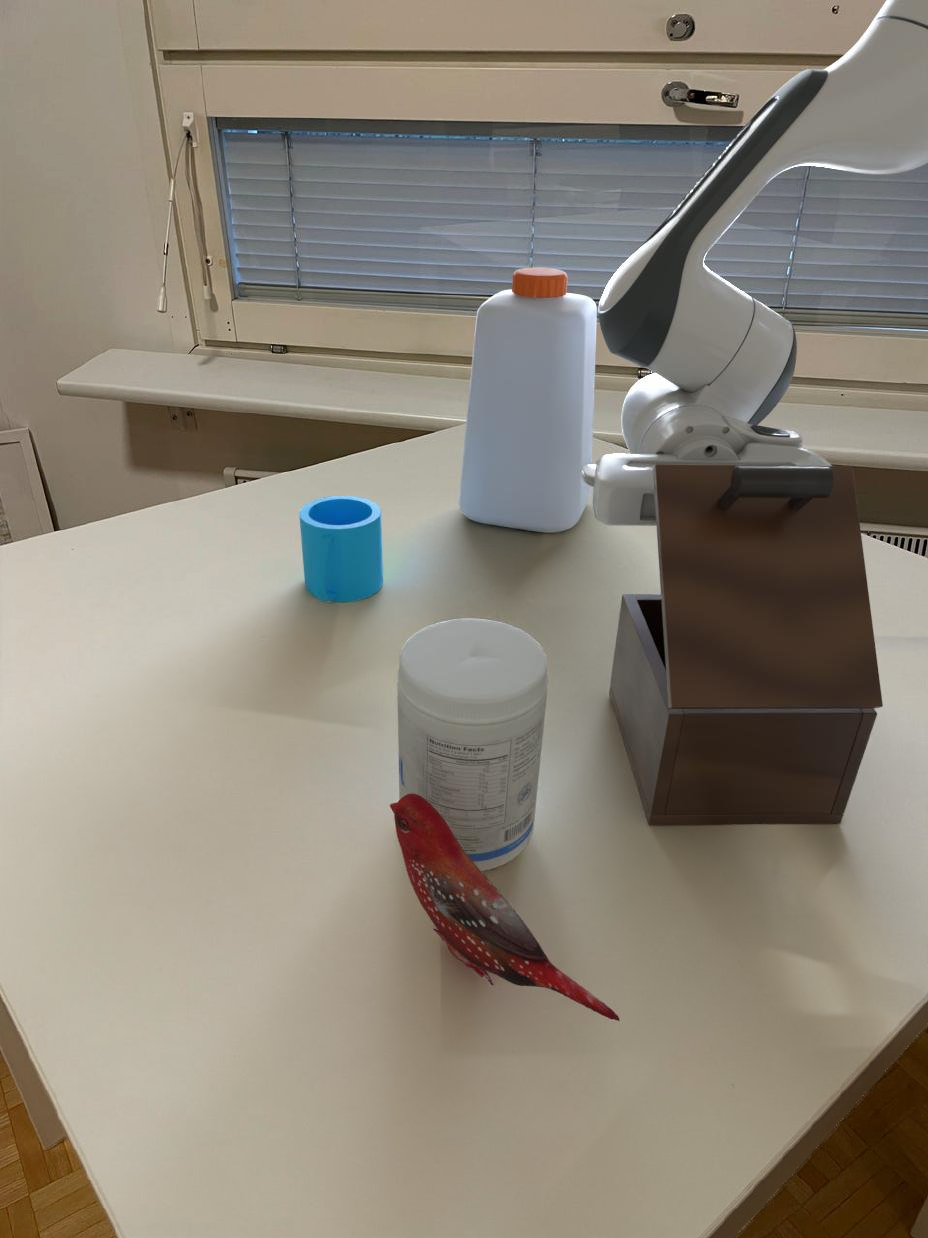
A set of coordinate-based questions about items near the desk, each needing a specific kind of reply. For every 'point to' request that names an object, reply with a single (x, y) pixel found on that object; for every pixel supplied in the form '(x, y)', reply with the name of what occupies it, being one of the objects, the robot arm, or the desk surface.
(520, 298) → the plastic bottle
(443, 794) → the supplement tub
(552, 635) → the desk surface
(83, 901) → the desk surface
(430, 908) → the decorative bird figurine
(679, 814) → the chest
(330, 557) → the mug
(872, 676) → the chest lid
